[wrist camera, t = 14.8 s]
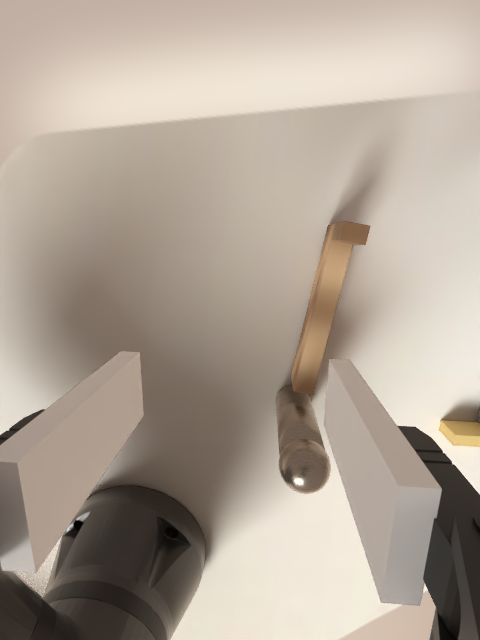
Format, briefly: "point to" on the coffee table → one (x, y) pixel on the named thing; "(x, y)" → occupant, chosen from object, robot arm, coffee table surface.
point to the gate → (324, 301)
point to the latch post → (461, 432)
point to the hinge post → (300, 443)
